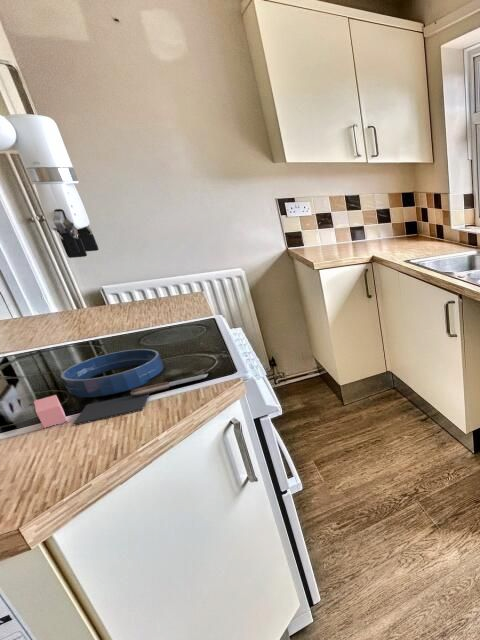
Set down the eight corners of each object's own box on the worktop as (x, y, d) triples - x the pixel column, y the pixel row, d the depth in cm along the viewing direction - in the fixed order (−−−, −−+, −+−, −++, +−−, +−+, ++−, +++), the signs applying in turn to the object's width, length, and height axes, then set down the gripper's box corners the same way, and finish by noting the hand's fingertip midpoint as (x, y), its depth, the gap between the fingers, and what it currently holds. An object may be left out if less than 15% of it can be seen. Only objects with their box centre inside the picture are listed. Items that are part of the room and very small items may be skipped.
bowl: (58, 407, 83) (48, 387, 82) (83, 376, 96) (75, 358, 95) (158, 387, 91) (151, 368, 89) (170, 360, 104) (163, 344, 102)
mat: (73, 425, 77) (72, 423, 77) (87, 406, 84) (86, 404, 84) (142, 410, 82) (141, 408, 82) (150, 393, 88) (149, 391, 88)
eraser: (44, 428, 76) (35, 412, 75) (41, 416, 80) (33, 400, 79) (67, 421, 79) (59, 405, 77) (63, 410, 82) (55, 394, 81)
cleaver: (207, 370, 96) (207, 373, 92) (209, 376, 97) (209, 379, 93) (131, 386, 89) (129, 391, 85) (134, 393, 89) (131, 397, 85)
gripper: (45, 177, 99) (74, 250, 106) (12, 177, 85) (49, 261, 92) (87, 176, 103) (113, 247, 109) (63, 176, 89) (94, 257, 95)
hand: (84, 253), depth 100 cm, fingers open, 9 cm apart
